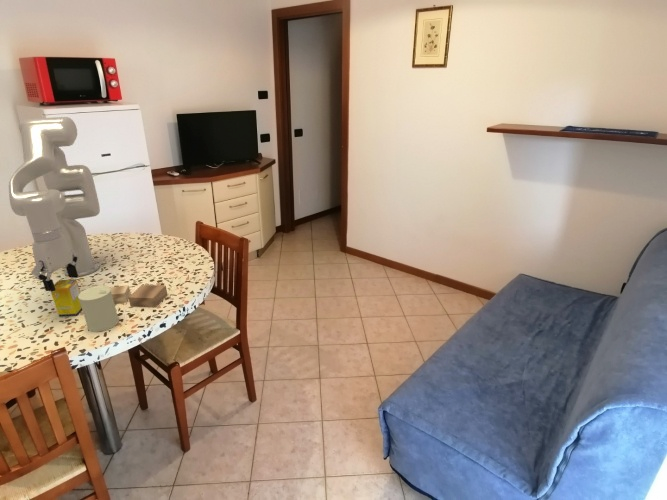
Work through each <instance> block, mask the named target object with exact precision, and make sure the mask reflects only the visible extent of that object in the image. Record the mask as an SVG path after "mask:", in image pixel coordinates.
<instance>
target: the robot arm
mask: <svg viewBox="0 0 667 500" xmlns="http://www.w3.org/2000/svg"><path fill="white" fill-rule="evenodd" d="M18 128H19V131H20V133H21V144H22V146H21V147H22V153H23V156H22V157H23V163H22V164H21V165H20V166H19V167H18V168H17V169H16V170H15V171H14V172H13V174H12V175H11V177H10V179H9V182H8V194H9V195H8V196H9V197H8V198H9V204H10V208H11V210H12V212H13V213H14V214H16V215H17V216H19V217H26V219H27V223H28V226H29V229H30V233H31V235H32V238H33V242H32V253H33V254H32V255H33V259H34V264H35V267H34V268H33V269H32V270H31V272H30V273H31V274H32V275H33V276H34V277H35V278H36V279H37V280H39V281H42V283H43V287H44V290H45V291H46V292H51V291H55V290H56V289H55V286H54V284H55V283H54V280H53V279H52V276H53V275H52V274H53V273H55V272H56V271H58V270H60V269H63V268H64V267H65V269H64V270H63V274H64V275H65V276H66V277H68V278H70V279H71V278H72V279H77V278H78V277H83V276H87V275H90V274H93V273H95V272H96V271H98V270H99V268H100V264H99V262H98V261H97V262H96V261H94V258H93V253H92V250H91V246H90V244H89V240H88V235H87V233H86V229H85V227H84V226H83V224H82V223H80V222H79V221H78V220H79V219H85V218H93V217H97V216H98V215H99V214H100V211H101V207H100V203H99V202H100V201H99V198H98V194H97V189H96V185H95V181H94V176H93V173H92V171H91V170H90V168H89V167H88V166H86V165H84V164H75V165H74V164H73V165H68V162H67V158H66V154H65V152H64V151H63V150H62V149H61V147H63V148H64V147H71V146H73V144H75V141H76V140H77V136H78V128H77V125H76V123H75V121H74V120H73V119H72V118H71V117H68V116H58V117H56V116H54V117H34V118H27V119H22V120H21V121H20V122H19V123H18ZM41 177H43V178H42V179H43V181H44V184H45V187H46V189H40V190H30V191H24V189H25V187H26V186H27V185H28V184H29V183H31V182H33V181H34V180H36V179H38V178H41ZM73 191H81V192H82V193H74V194H66V195H65V194H63V193H64V192H66V193H67V192H73Z"/></svg>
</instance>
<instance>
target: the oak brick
mask: <svg viewBox="0 0 667 500" xmlns="http://www.w3.org/2000/svg"><path fill="white" fill-rule="evenodd" d="M109 287H110V286H109ZM110 288H111V293H112V297H113V301H114V304H115V305H118V304H119V305H120V304H127V303H128V302H129V298H128V297H129V296H130V295H131V294H132V293H131V290H130V286H129V284H126V285H119V286H117V285H116V286H111V287H110Z"/></svg>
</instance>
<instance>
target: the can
mask: <svg viewBox="0 0 667 500" xmlns="http://www.w3.org/2000/svg"><path fill="white" fill-rule="evenodd" d="M78 298H79V301H80V304H81V307H82V310H81V311H82V314H83V317H84V319H85V323H86V329H87V330H88V331H90V332H94V333H97V332H104V331H108V330H110V329H111V328H114V327H115V326H117V324H119V322H120V317H119V315H118V313H117V309H116V304H114V301H113V297H112V293H111V288H110V286H107V285H96V286H91V287H88V288H86V289H84V290H83V291H80V294H79V295H78Z"/></svg>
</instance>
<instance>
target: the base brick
mask: <svg viewBox="0 0 667 500" xmlns="http://www.w3.org/2000/svg"><path fill="white" fill-rule="evenodd" d="M167 296H168V290H167V286H166V285H157V284H141V285H140V286H139V287H138V288H137V289H136V290H134V292H132V293H131V295H130V296H129V297H128V298H129V300H128V302H129V305H130V307H132V308H133V307H136V308H156V307H157V306H158V305H159V304H160V303H161V302H162V301H163V300H164V299H165V298H166V297H167Z"/></svg>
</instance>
